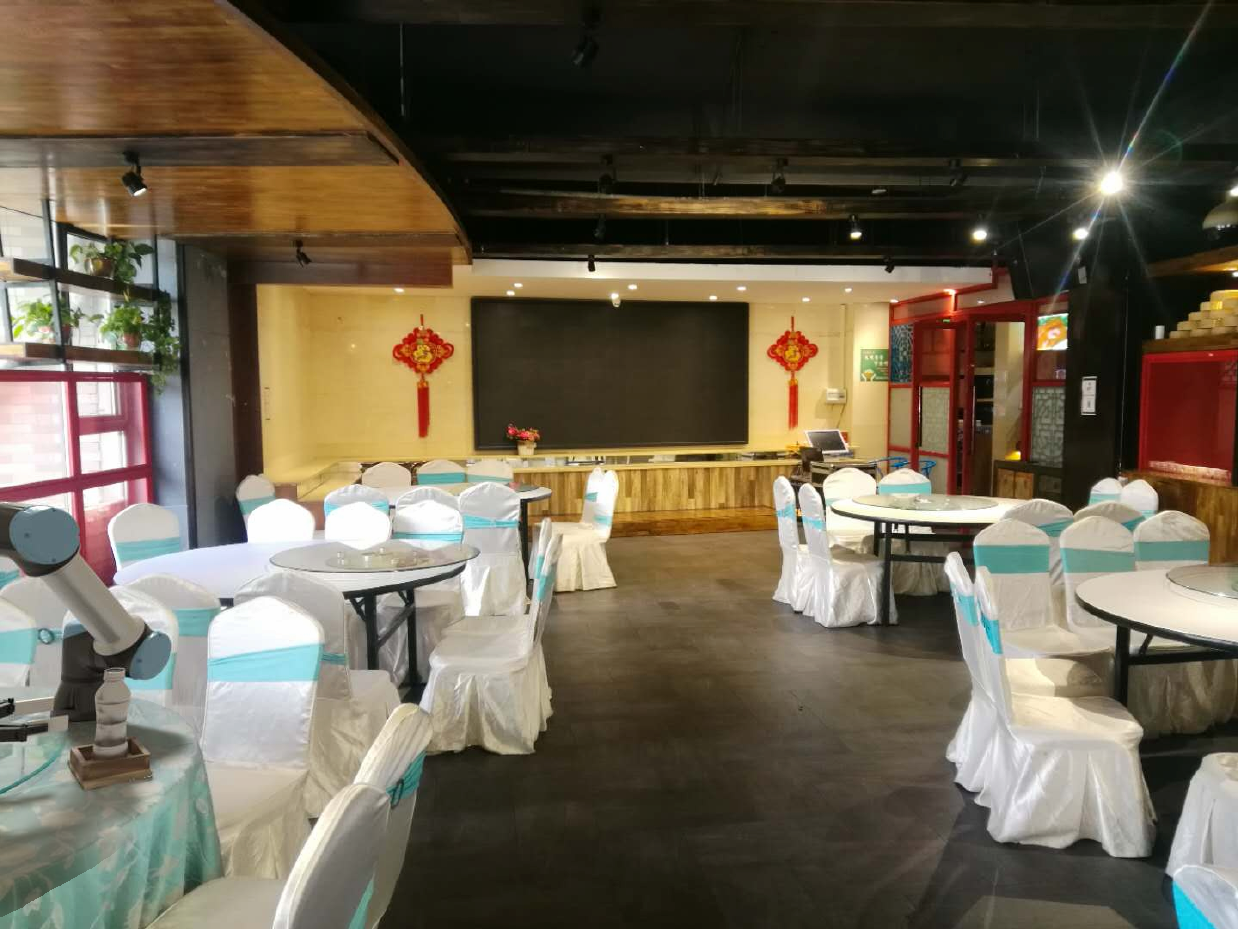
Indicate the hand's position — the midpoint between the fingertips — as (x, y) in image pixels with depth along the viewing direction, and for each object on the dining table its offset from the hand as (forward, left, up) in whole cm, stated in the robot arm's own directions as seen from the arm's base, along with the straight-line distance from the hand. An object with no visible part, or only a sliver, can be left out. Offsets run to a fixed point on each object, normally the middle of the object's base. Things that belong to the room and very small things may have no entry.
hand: (60, 712), depth 167 cm
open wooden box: (0, +9, -14) cm, 16 cm away
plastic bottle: (0, +9, -13) cm, 16 cm away
